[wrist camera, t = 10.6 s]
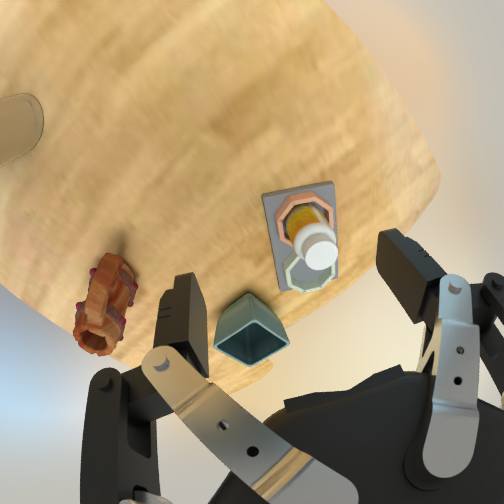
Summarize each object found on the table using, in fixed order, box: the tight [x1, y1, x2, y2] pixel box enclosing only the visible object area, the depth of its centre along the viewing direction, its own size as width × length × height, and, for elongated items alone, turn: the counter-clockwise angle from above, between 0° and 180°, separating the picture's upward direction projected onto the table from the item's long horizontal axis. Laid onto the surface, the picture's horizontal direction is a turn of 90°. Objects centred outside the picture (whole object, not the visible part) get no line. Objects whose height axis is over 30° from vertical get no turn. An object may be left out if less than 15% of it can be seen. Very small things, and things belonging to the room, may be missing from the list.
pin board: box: [262, 181, 338, 293], centre depth 42 cm, size 10×17×3 cm, turn 11°
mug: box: [73, 253, 138, 356], centre depth 36 cm, size 15×8×15 cm, turn 154°
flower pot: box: [213, 293, 290, 367], centre depth 46 cm, size 9×9×9 cm
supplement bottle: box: [284, 202, 338, 270], centre depth 36 cm, size 5×5×10 cm
